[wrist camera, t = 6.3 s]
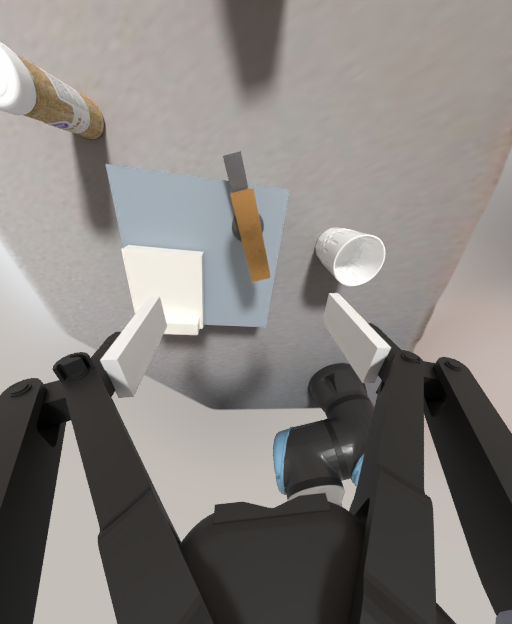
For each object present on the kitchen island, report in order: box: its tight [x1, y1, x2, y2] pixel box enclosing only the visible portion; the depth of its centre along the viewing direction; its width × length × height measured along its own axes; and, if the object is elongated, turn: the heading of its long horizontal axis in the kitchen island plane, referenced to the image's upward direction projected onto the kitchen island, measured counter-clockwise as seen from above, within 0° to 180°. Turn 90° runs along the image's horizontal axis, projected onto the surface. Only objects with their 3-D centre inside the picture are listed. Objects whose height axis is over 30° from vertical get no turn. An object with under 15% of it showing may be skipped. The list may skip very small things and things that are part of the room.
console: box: [106, 164, 290, 327], centre depth 34 cm, size 22×22×8 cm
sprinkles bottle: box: [0, 42, 104, 139], centre depth 22 cm, size 5×5×13 cm
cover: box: [121, 245, 204, 335], centre depth 30 cm, size 12×10×4 cm
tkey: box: [223, 151, 271, 282], centre depth 24 cm, size 2×12×8 cm, turn 12°
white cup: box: [315, 227, 385, 286], centre depth 35 cm, size 8×8×10 cm
